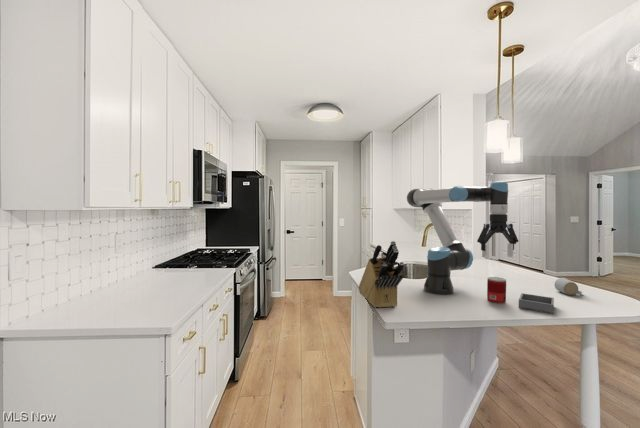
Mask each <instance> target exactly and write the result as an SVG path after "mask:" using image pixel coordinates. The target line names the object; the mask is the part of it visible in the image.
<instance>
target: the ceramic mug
mask: <svg viewBox="0 0 640 428" xmlns="http://www.w3.org/2000/svg"><path fill="white" fill-rule="evenodd" d="M554 288H555V289H556V291H558V292H561V293H563V294H565V295H568V296H574V295H576V294H577V295H582V294H583V292H582V291H580V290H579V286H578V284H577V283H575V282H574V281H572V280H570V279H568V278H565V277H559V278H556V280H555V281H554Z"/></svg>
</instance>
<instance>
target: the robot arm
mask: <svg viewBox="0 0 640 428" xmlns="http://www.w3.org/2000/svg"><path fill="white" fill-rule="evenodd" d="M508 196H509V183H508V182H506V181H492V182H490V185H489V186H463V185H462V186H461V185H455V186H452V187H446V188H436V189H433V188H413V189H411V190H410V191H408V193H407V196H406V201H407V203H408V205H410V206H411V207H413V208H421V209H422V210H423V212H424V213H425V214H427V215H428V217H429V220H430V222H431V224H432V226H433V228H434V230H435V232H436V234H437V237H438V239H439V240H440V243H441V245H442V246H440V247H439V246H438V247H436V246H435V247H432V248H429V249H428V250H427V255H426V258H427V259H426V260H427V273H426V274H427V276H426V279H425V282H424V284H423V290H424V291H425V292H427V293H430V294H436V295H451V294H454V286H453V283H452V280H451V271H462V270H466V269H469V268H470V267H471V266H472V264H473V261H474V255H473V253H472V250H470V249H469V248H467V247H465V246H464V245H463V243H462V242H460V241H458V239H457V236H456V235H455V232H454V231H453V229H452V227H451V224H450V223H449V221H448V219H447V217H446V215H445V213H444V211H443V209H442V206H443V203H457V202H458V203H459V202H463V203H464V202H476V203H480V202H485V203H486V202H489V223H483V228H482V230H481V232H480V234H479V236H478V238H477V243H479V244H480V251H482V252H481V257H482V258H485V259H487V258H488V245H489V244H487V243H488V241H490V239H491V238H492V237H493V235H495V234H499V233H500V234H503V236H504V238H505V239H506V240H507V241H508V243H507V254H506V255H507V257H509V258H514V250H515V245H516V244H517V243H519V239H518V237H517V234H516V232H515V230H514V225H513V223H507V222H508V209H509V206H508V204H509V203H508V200H509V199H508V198H509V197H508Z"/></svg>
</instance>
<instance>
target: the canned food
mask: <svg viewBox="0 0 640 428" xmlns="http://www.w3.org/2000/svg"><path fill="white" fill-rule="evenodd" d="M486 279H487V282H486V287H487V289H486V296H487V297H486V299H487V300H488V301H489V302H490V301H491V303H495V304H506V301H507V279H506V278H503V277H499V276H489V277H487V278H486Z"/></svg>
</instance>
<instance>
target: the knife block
mask: <svg viewBox="0 0 640 428" xmlns="http://www.w3.org/2000/svg"><path fill="white" fill-rule="evenodd" d="M381 251H382V246H381V245H380V244H377V246H375V249H374V251H373V255H372V258H369V259H368V262H367V263H366V267H365V270H364V272H363V273H362V274H363V275H362V276H361V280H360V283H359V285H358V291H359V294H360V295H361V296H362V297H363V298H364V299H365V300H367V301H368V302H369V303H370V304H371V305H372V306H373V308H376V307H378V308H386V307H387V308H388V307H392V306H395V307H397V306H398V286H399V284H400V283H401V282H402V280H403V279H404V278H405V275H402V274H400V273H402V271H403V270H404V267H405V263H404V262H402V261H401V262H398V261H397V259H398V257H399V252H400V251H399V249H398V247H397V243H396V241H395V240H392V241H391V242H390V245H389V246H388V248H387V252H386V255H385V256H384V257H379V255H380V252H381ZM395 266H396V267H395ZM376 309H377V308H376Z"/></svg>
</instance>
